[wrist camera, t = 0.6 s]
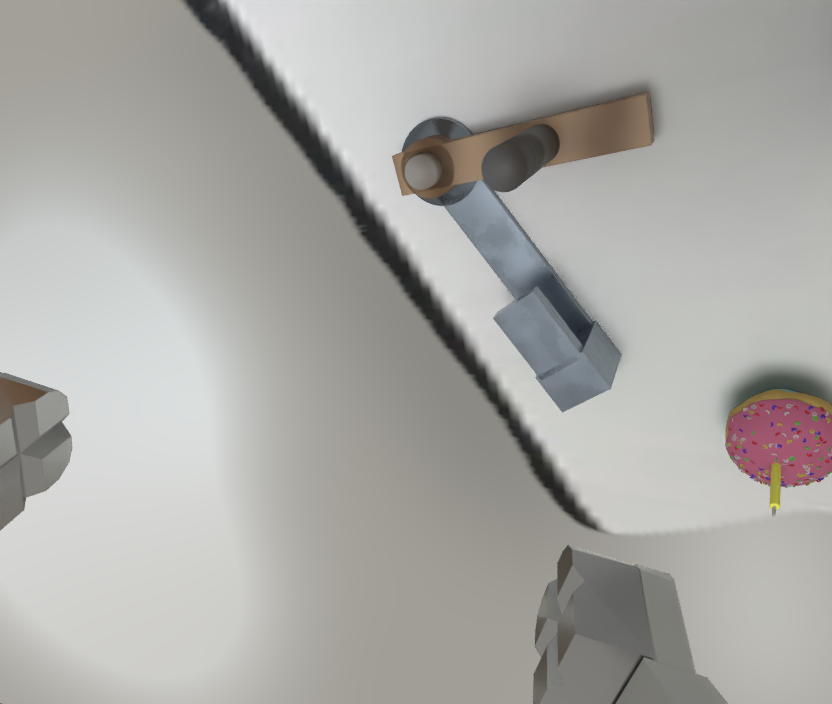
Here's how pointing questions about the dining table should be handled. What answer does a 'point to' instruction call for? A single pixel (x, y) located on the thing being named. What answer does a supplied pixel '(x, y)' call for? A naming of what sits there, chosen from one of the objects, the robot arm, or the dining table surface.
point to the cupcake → (781, 439)
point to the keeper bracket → (529, 290)
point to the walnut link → (524, 147)
